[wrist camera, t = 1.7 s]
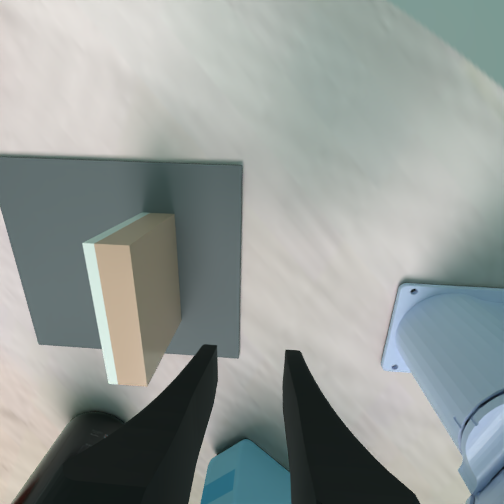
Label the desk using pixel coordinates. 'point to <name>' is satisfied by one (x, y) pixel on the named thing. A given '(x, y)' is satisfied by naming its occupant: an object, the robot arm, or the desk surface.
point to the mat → (110, 215)
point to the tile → (135, 294)
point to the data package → (246, 477)
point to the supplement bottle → (67, 450)
